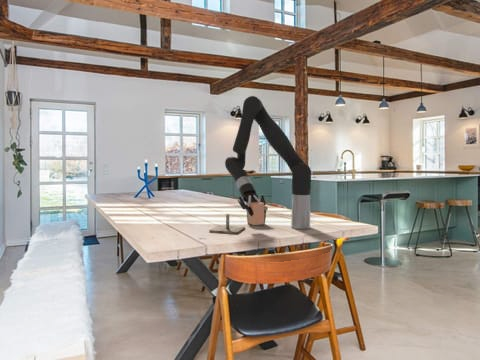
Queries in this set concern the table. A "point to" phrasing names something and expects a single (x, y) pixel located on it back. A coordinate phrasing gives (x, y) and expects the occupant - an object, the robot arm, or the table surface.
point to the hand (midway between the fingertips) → (258, 214)
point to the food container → (264, 216)
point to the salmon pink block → (256, 213)
